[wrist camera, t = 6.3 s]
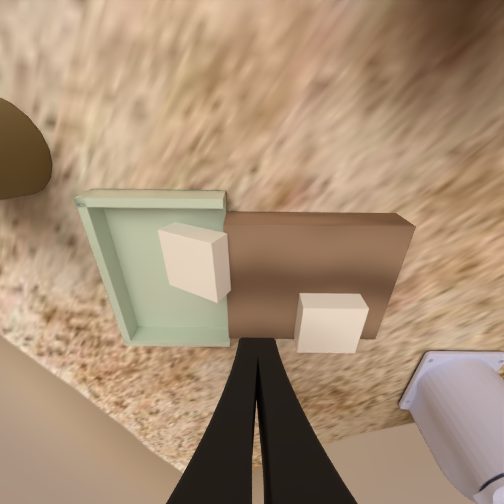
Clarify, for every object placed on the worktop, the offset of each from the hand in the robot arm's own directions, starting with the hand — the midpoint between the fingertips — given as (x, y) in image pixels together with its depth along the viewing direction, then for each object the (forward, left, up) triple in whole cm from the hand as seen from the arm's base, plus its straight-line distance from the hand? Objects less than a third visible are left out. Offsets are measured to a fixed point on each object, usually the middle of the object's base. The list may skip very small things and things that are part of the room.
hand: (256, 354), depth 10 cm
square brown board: (-2, -4, -10) cm, 11 cm away
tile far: (-5, -5, -8) cm, 11 cm away
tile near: (0, +4, -8) cm, 9 cm away
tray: (-2, +7, -10) cm, 12 cm away
